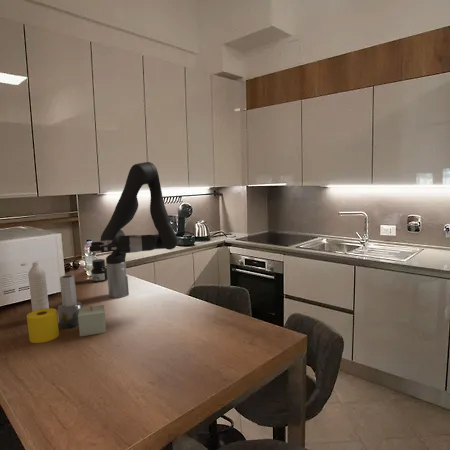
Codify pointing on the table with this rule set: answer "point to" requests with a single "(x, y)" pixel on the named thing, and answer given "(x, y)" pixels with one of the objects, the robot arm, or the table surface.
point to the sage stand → (91, 320)
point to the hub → (69, 316)
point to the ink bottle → (99, 271)
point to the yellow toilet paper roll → (42, 325)
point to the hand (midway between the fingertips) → (90, 246)
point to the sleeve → (68, 291)
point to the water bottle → (37, 286)
